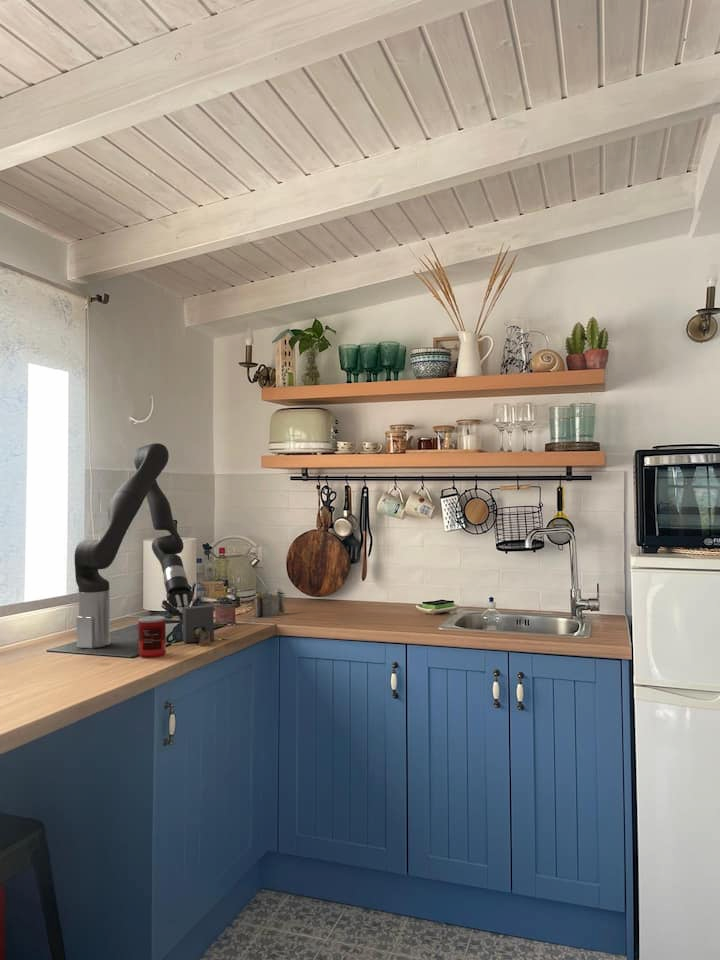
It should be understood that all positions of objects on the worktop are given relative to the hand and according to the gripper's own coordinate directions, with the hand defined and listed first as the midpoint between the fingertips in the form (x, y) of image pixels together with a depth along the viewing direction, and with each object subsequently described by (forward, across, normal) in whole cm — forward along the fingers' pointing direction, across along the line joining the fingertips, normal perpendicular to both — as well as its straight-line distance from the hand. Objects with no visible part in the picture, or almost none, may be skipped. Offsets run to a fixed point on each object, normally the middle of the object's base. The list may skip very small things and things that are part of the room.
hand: (185, 624), depth 238 cm
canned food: (+15, -14, -7) cm, 22 cm away
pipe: (+3, +3, +4) cm, 6 cm away
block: (+6, +3, +2) cm, 7 cm away
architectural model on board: (-18, +40, +27) cm, 52 cm away
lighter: (-12, +20, +20) cm, 30 cm away
